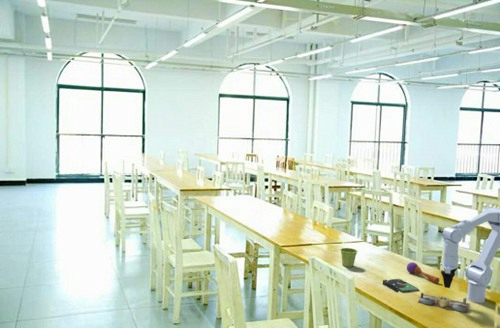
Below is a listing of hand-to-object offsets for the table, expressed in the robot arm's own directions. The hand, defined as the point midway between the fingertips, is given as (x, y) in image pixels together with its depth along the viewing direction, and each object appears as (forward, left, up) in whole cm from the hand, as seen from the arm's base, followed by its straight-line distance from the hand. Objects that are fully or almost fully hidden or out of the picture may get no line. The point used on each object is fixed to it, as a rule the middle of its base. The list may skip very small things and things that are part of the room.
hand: (448, 285), depth 206 cm
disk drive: (-9, -22, -10) cm, 26 cm away
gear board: (+2, -1, -9) cm, 9 cm away
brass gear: (+5, -1, -8) cm, 9 cm away
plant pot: (-30, -54, -9) cm, 62 cm away
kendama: (-34, -16, -10) cm, 39 cm away
